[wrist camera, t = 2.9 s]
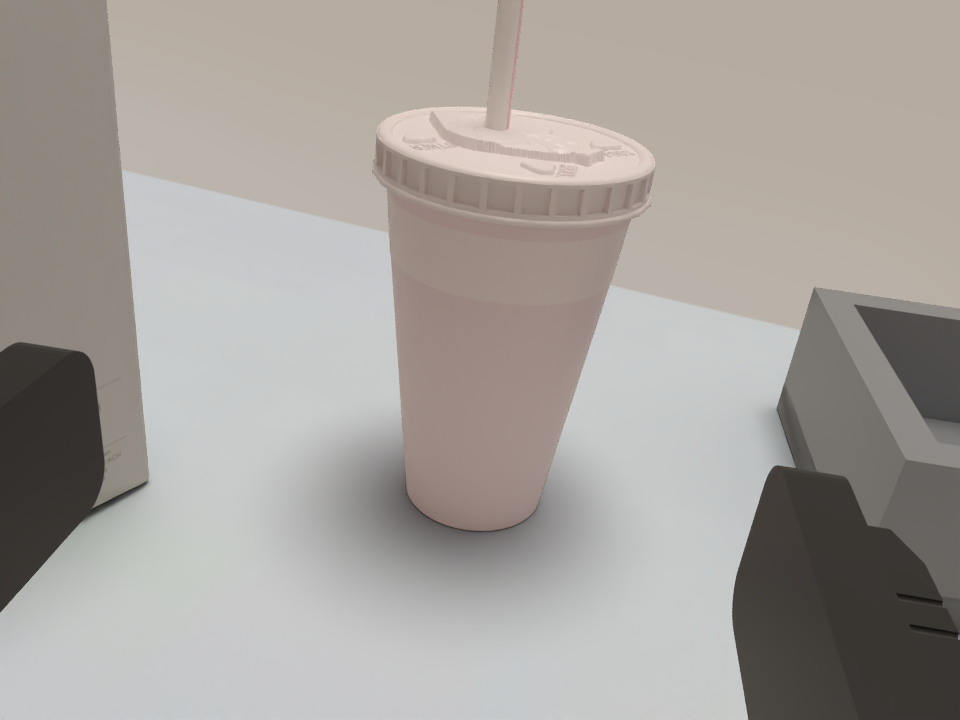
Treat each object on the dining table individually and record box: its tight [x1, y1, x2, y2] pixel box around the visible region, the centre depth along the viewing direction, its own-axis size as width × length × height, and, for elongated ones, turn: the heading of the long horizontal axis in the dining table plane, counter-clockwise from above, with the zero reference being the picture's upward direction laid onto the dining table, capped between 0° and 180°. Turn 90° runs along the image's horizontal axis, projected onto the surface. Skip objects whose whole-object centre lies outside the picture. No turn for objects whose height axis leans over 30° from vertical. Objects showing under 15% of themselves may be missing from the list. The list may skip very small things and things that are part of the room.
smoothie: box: [372, 0, 656, 531], centre depth 21 cm, size 6×6×14 cm
